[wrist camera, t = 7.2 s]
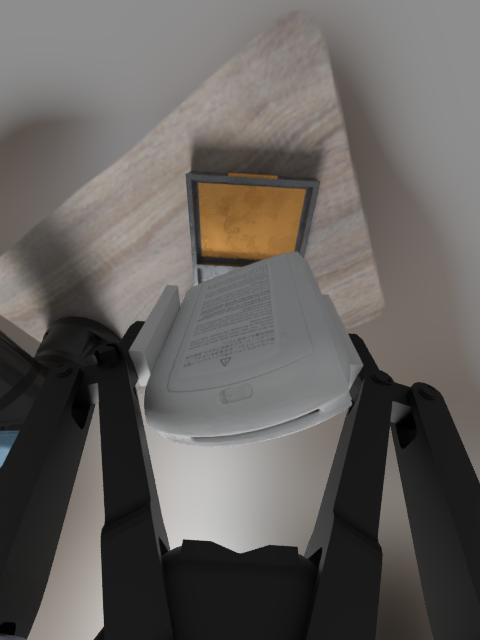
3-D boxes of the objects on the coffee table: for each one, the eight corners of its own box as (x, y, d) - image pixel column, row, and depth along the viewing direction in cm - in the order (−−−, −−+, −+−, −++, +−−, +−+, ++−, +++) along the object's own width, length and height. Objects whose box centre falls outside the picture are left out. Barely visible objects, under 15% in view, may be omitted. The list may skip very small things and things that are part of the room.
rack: (200, 317, 45) (197, 327, 43) (190, 168, 31) (185, 170, 28) (285, 322, 45) (287, 332, 43) (315, 175, 31) (320, 178, 28)
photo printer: (204, 324, 22) (165, 473, 12) (179, 286, 20) (108, 432, 10) (315, 289, 19) (381, 443, 10) (302, 240, 17) (373, 378, 7)
